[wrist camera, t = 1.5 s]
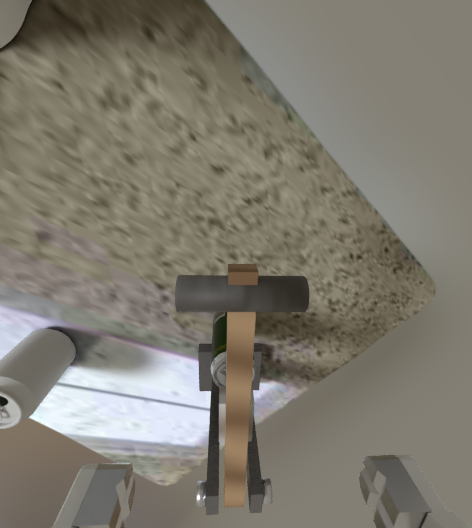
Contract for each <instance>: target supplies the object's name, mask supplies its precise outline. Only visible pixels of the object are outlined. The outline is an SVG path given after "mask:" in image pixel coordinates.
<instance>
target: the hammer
mask: <svg viewBox="0 0 472 528" xmlns="http://www.w3.org/2000/svg"><path fill="white" fill-rule="evenodd" d="M175 304H176V310H177V312H227V355H226V386H219V442H225V474H224V507H243V506H244V495H245V480H246V464H247V448H248V441H252V430H253V416H254V397H253V389H252V386H251V384H252V368H253V352H254V336H255V319H256V312H306V310H307V308H308V304H309V287H308V282H307V279H306V278H305V277H304V276H258V269H257V266H256V264H228V276H203V275H178V277H177V281H176V289H175Z"/></svg>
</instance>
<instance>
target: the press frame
mask: <svg viewBox="0 0 472 528" xmlns="http://www.w3.org/2000/svg"><path fill="white" fill-rule="evenodd" d="M211 353H212V344H199V352H198V354H199V387H200V391H211V407H210V427H209V447H208V467H207V481H198V482H197V492H196V507H206V514H207V515H213V514H218V499H219V497H218V496H219V493H218V492H219V387H218V386H217V385H216V384H215V382H214V381H213V377H212V373H211ZM253 354H254V360H255V366H256V369H255V375H254V379H253V381H252V384H251V386H252V389H253V390H259V383H260V370H261V357H262V350H261V345H260V344H254V352H253ZM259 464H260V463H259V456H258V447H257V439H256V431H255V422H254V416H253V430H252V441H248V448H247V464H246V471H247V484H248V497H249V510H250V513H256V512H257V513H259V512H262V504H272V487H271V481H270V479H261V472H260V465H259Z"/></svg>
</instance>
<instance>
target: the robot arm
mask: <svg viewBox="0 0 472 528" xmlns="http://www.w3.org/2000/svg"><path fill="white" fill-rule="evenodd" d="M31 1H32V0H0V48H2V47H3V46H5V45H6V44H7V43H9V42H10V41H11V40H12V39H13V38H14V36H15V35H16V34H17V32H18V31H19V29H20V28H21V26H22V24H23V21H24V19H25V16H26V13H27V10H28V7H29V5H30V3H31ZM363 463H364V465H365V468H364V469H363V470H362V471H361V472H360V477H359V480H360V488H361V491H362V494H363V497H364V500H365V502H366V504H367V505H368V506H369V507H370V508H371V509H372V510H373V511H374V523H375V525H376V528H472V527H471V526H469V525H468V524H467V523H466V522H465V521H463V520H462V519H461V518H460V517H458V516H457V515H456V514H455V513H454V512H448V510H447V509H446V508H445V506H444V504H443V503H442V501H441V500H440V498H439V497H438V495H437V494H436V492H435V491H434V489H433V488H432V486H431V485H430V483H429V482H428V480H427V479H426V477H425V476H424V474H423V473H422V472H421V470H420V468H419V467H418V465H417V464H416V462H415V460H414V459H413V458H412V457H411V456H409V455H382V456H367V457H365V459H364V462H363ZM132 471H133V468H132V463H119V464H84V465H83V467H82V468H81V469H80V471H79V473H78V475H77V477H76V479H75V481H74V483H73V485H72V487H71V490H70V492H69V494H68V496H67V498H66V500H65V502H64V504H63V507H62V508H61V511H60V513H59V515H58V517H57V519H56V521H55V523H54V525H53V527H52V528H125V527H124V522H123V521H124V520H125V519H126V517H127V516H128V515H129V514H130V511H131V507H132V503H133V498H134V492H135V480H134V478H133V477H132V476H131V474H132Z"/></svg>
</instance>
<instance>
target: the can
mask: <svg viewBox="0 0 472 528" xmlns="http://www.w3.org/2000/svg"><path fill="white" fill-rule="evenodd" d="M75 354H76V349H75V346H74V344H73V342H72V341H71V340H70V338H69V337H68V336H67V335H65V334H64V333H62V332H60V331H56V330H52V329H38V330H36V331H33V332H32V333H30V334H29V335H28V336H27V337H26V338H25V339H24V340H22V341H21V342H20V343H19V344H18V345H17V346H16V347H14V348H13V349H12V350H11V351H10V352H9V353H8V354H7V355H5V356H4V357H3V358H2V359H1V360H0V429H3V428H9V427H13V426H15V425H16V424H18V423H19V422H20V421H21V420H23V419H26V418H28V417H29V416H30V415H32V414H33V413H34V411H35V410H36V409H37V407H38V406H39V405H40V403H41V402H42V401H43V399H44V398H45V397H46V396H47V394H48V393H49V392H50V390H51V389H52V388H53V386H54V385H55V384H56V382H57V381H58V380H59V378H60V377H61V376H62V374H63V373H64V372H65V370H66V369H67V368H68V367H69V365H70V364H71V363H72V361H73V359H74V358H75Z"/></svg>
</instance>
